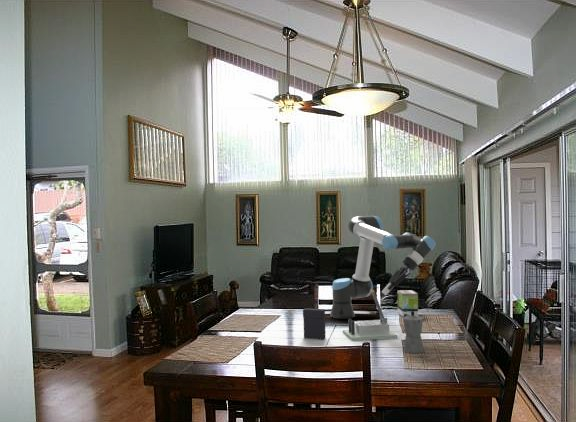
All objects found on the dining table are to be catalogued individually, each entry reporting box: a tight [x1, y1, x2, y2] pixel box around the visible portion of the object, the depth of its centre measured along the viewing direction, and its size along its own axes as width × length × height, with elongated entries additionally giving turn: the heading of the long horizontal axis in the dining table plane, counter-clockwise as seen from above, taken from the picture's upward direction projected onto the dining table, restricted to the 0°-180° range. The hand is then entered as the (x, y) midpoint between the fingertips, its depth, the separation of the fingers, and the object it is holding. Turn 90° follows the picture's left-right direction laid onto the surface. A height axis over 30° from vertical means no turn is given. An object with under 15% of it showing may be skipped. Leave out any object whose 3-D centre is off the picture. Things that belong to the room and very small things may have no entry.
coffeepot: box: [402, 311, 424, 354], centre depth 227 cm, size 15×9×18 cm, turn 13°
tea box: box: [396, 289, 419, 318], centre depth 309 cm, size 15×10×15 cm, turn 179°
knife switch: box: [347, 316, 391, 336], centre depth 257 cm, size 19×12×8 cm, turn 99°
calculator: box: [302, 308, 327, 341], centre depth 253 cm, size 11×4×15 cm, turn 65°
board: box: [342, 329, 398, 342], centre depth 257 cm, size 24×18×2 cm
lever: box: [370, 289, 385, 321], centre depth 258 cm, size 18×3×2 cm
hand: (383, 293), depth 258 cm, fingers closed
